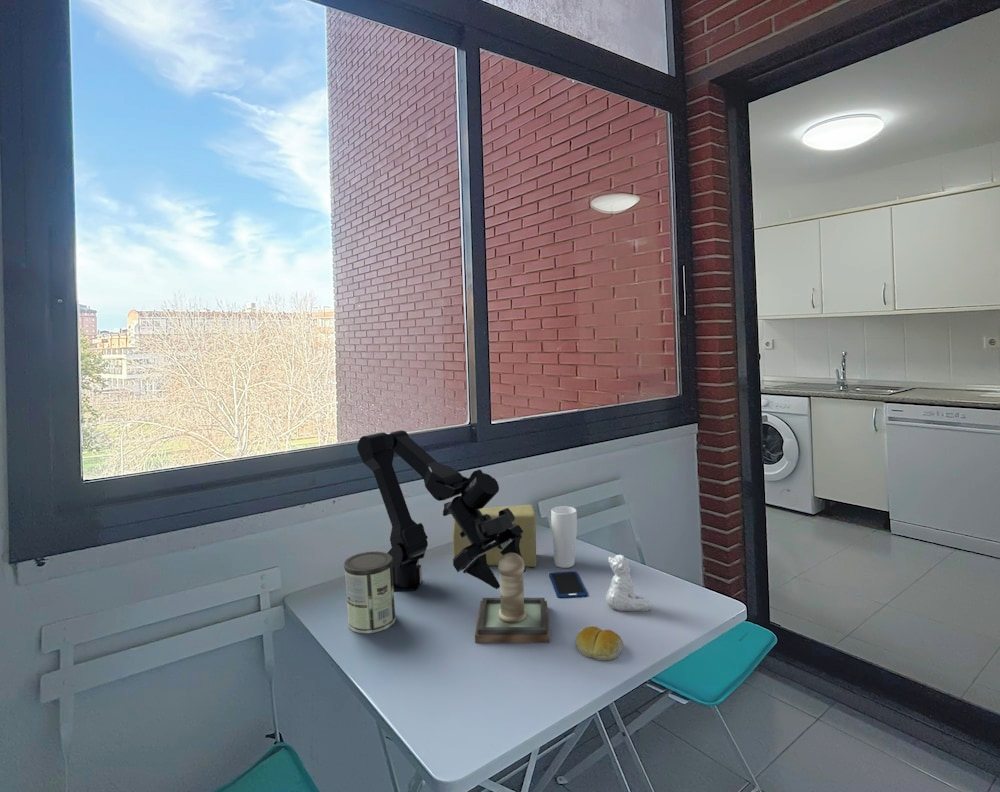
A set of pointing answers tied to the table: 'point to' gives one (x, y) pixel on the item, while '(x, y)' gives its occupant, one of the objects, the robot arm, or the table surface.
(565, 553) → the drinking glass
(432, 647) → the table surface
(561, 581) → the cell phone
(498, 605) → the picture frame
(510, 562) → the beige round-topped cylinder
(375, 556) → the coffee can
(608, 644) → the bread roll
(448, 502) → the robot arm
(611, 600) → the sitting furry creature
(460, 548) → the cheese
